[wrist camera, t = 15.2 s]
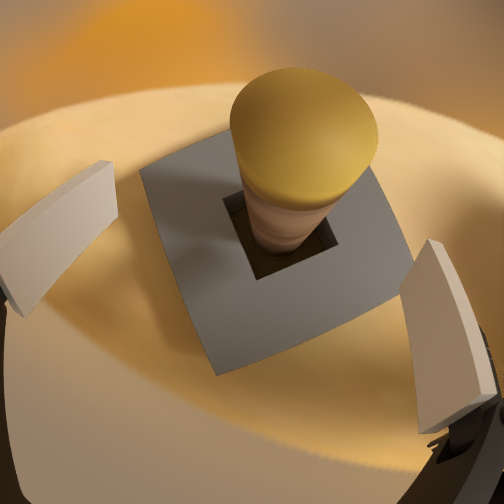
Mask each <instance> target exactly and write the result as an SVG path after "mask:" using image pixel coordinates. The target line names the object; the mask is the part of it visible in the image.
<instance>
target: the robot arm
mask: <svg viewBox="0 0 504 504" xmlns="http://www.w3.org/2000/svg"><path fill="white" fill-rule="evenodd" d="M117 217H118V208H117V199H116V190H115V180H114V167H113V162H110V161H103V160H100V161H98V162H96V163H95V164H93V165H91V166H90V167H88V168H87V169H85V170H83V171H82V172H80V173H79V174H77V175H76V176H74V177H73V178H71V179H70V180H68V181H67V182H65V183H64V184H62V185H61V186H59V187H58V188H57V189H55V190H54V191H52V192H51V193H50V194H48V195H47V196H45V197H44V198H43V199H41V200H40V201H39V202H37V203H36V204H35V205H34V206H32V207H31V208H30V209H29V210H27V211H26V212H25V213H24V214H22V215H21V216H20V217H19V218H17V219H16V220H15V221H14V222H13V223H12V224H10V225H9V226H8V227H7V228H6V229H5V230H4V231H2V232H1V233H0V504H31V503H30V502H29V501H28V500H27V499H26V498H25V497H24V496H23V494H22V492H21V489H20V486H19V482H18V478H17V474H16V470H15V466H14V462H13V458H12V452H11V448H10V442H9V435H8V428H7V421H6V411H5V400H4V376H3V362H4V361H3V360H4V359H3V358H4V337H5V325H6V315H7V309H6V306H5V305H4V303H5V301H6V300H7V299H8V301H9V303H10V305H11V306H12V308H13V309H14V311H15V312H17V313H18V314H20V315H21V316H22V317H24V318H27V317H28V315H29V314H30V313H31V311H32V310H33V309H34V307H35V306H36V305H37V303H38V302H39V301H40V300H41V299H42V297H43V296H44V295H45V294H46V293H47V291H48V290H49V289H50V288H51V287H52V285H53V284H54V283H55V282H56V281H57V280H58V278H59V277H60V276H61V275H62V274H63V273H64V272H65V271H66V269H67V268H68V267H69V266H70V265H71V264H72V263H73V262H74V261H75V260H76V258H77V257H78V256H79V255H80V254H81V253H82V252H83V251H84V250H85V249H86V248H87V247H88V246H89V245H90V244H91V243H92V242H93V241H94V240H95V239H96V238H97V237H98V236H99V235H100V234H101V233H102V232H103V231H104V230H105V229H106V228H107V227H108V226H109V225H110V224H111V223H112V222H113V221H114V220H115V219H116V218H117ZM399 292H400V297H401V301H402V306H403V310H404V315H405V320H406V325H407V331H408V336H409V342H410V349H411V355H412V362H413V370H414V378H415V387H416V398H417V411H418V432H419V434H427V433H437V432H438V431H440V430H442V429H444V428H446V427H447V426H448V427H449V433H447V434H445V435H443V436H442V437H440V438H438V439H436V440H434V441H432V442H430V443H429V444H428V445H427V447H428V448H429V447H431V446H434V445H436V444H438V443H439V444H438V446H437V447H435V448H433V449H432V451H433V454H432V455H431V457H430V459H429V460H428V462H427V463H426V465H425V466H424V468H423V469H422V471H421V472H420V474H419V475H418V476H417V478H416V479H415V481H414V482H413V483H412V485H411V486H410V488H409V489H408V490H407V491H406V493H405V494H404V495H403V496H402V498H401V499H400V500H399V501H398V503H397V504H504V471H503V469H504V398H503V399H502V397H501V393H500V388H499V383H498V379H497V375H496V371H495V367H494V364H493V360H491V358H492V357H491V353H490V350H488V348H489V347H488V343H487V340H486V337H485V334H484V333H483V331H482V329H481V328H480V326H479V325H478V323H477V321H476V318H475V315H474V313H473V310H472V307H471V305H470V302H469V300H468V297H467V295H466V293H465V290H464V288H463V286H462V283H461V281H460V279H459V277H458V275H457V272H456V270H455V268H454V266H453V264H452V262H451V260H450V258H449V256H448V254H447V252H446V250H445V248H444V246H443V244H442V243H440V242H438V241H435V240H432V239H429V238H428V239H427V240H426V242H425V244H424V246H423V248H422V249H421V251H420V253H419V255H418V256H417V258H416V260H415V262H414V263H413V265H412V267H411V268H410V270H409V272H408V273H407V275H406V276H405V278H404V280H403V281H402V283H401V284H400V286H399Z"/></svg>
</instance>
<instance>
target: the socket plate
mask: <svg viewBox="0 0 504 504" xmlns="http://www.w3.org/2000/svg"><path fill="white" fill-rule="evenodd" d="M139 171H140V174H141V178H142V181H143V185H144V188H145V191H146V195H147V198H148V201H149V205H150V208H151V211H152V214H153V217H154V220H155V223H156V226H157V229H158V232H159V235H160V238H161V241H162V244H163V247H164V250H165V253H166V256H167V258H168V261H169V264H170V267H171V269H172V272H173V275H174V277H175V280H176V283H177V285H178V288H179V290H180V293H181V296H182V298H183V301H184V303H185V306H186V308H187V310H188V313H189V315H190V318H191V320H192V323H193V325H194V327H195V330H196V332H197V334H198V337H199V339H200V341H201V343H202V346H203V348H204V350H205V352H206V355H207V357H208V359H209V361H210V363H211V366H212V368H213V370H214V372H215V374H216V376H218V375H221V374H224V373H227V372H230V371H233V370H236V369H238V368H241V367H244V366H247V365H249V364H252V363H255V362H257V361H260V360H262V359H265V358H267V357H270V356H272V355H275V354H277V353H280V352H282V351H285V350H287V349H289V348H292V347H294V346H296V345H299V344H301V343H303V342H306V341H308V340H310V339H312V338H315V337H317V336H319V335H321V334H323V333H325V332H327V331H330V330H332V329H334V328H336V327H338V326H340V325H342V324H344V323H346V322H348V321H350V320H352V319H354V318H356V317H358V316H360V315H362V314H364V313H366V312H368V311H370V310H371V309H373V308H375V307H377V306H379V305H381V304H383V303H384V302H386V301H388V300H390V299H392V298H393V297H395V296H397V295H399V294H400V292H399V286H400V284H401V283H402V281H403V280H404V278H405V276H406V275H407V273H408V272H409V270H410V268H411V267H412V265H413V263H414V260H413V258H412V255H411V253H410V250H409V248H408V245H407V243H406V240H405V238H404V236H403V233H402V231H401V229H400V226H399V224H398V222H397V220H396V217H395V215H394V213H393V211H392V209H391V207H390V205H389V203H388V200H387V198H386V196H385V194H384V192H383V190H382V188H381V186H380V184H379V183H378V181H377V179H376V177H375V175H374V173H373V171H372V169H371V167H370V166H368V167H367V168H366V170H365V171H364V172H363V173H362V174H361V176H360V177H359V178H358V179H357V180H356V181H355V183H354V184H353V185H352V186H351V187H350V189H349V190H348V191H347V192H346V193H345V194H344V196H343V197H342V198H341V199H340V200H339V201H338V202H337V204H336V205H335V206H334V207H333V208H332V209H331V211H330V212H329V213H328V214H327V215H326V216H325V217H324V219H323V220H322V221H321V222H320V223H319V224H318V225H317V227H316V231H317V233H318V235H319V237H320V239H321V242H322V244H323V246H324V249H325V251H324V252H321V253H319V254H317V255H315V256H312V257H310V258H308V259H305V260H303V261H301V262H299V263H296V264H294V265H292V266H289V267H287V268H285V269H282V270H280V271H278V272H275V273H273V274H271V275H268V276H266V277H264V278H261V279H259V280H257V279H256V277H255V274H254V272H253V269H252V267H251V265H250V262H249V260H248V258H247V255H246V253H245V250H244V248H243V246H242V243H241V241H240V239H239V236H238V234H237V231H236V229H235V227H234V224H233V222H232V219H231V217H230V215H229V213H231V212H233V211H236V210H238V209H241V208H243V207H245V206H247V205H246V200H245V196H244V191H243V186H242V181H241V177H240V172H239V167H238V162H237V158H236V153H235V148H234V144H233V139H232V134H231V129H229V130H227V131H224V132H222V133H219V134H217V135H214V136H212V137H209V138H207V139H204V140H202V141H200V142H197V143H195V144H193V145H190V146H188V147H186V148H184V149H181V150H179V151H177V152H175V153H173V154H171V155H168V156H166V157H164V158H162V159H160V160H158V161H156V162H154V163H152V164H150V165H148V166H146V167H144V168H142V169H140V170H139Z"/></svg>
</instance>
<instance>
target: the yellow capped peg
mask: <svg viewBox="0 0 504 504" xmlns="http://www.w3.org/2000/svg"><path fill="white" fill-rule="evenodd" d="M230 129H231V134H232V139H233V144H234V148H235V153H236V158H237V162H238V167H239V172H240V177H241V181H242V186H243V191H244V196H245V200H246V205H247V210H248V215H249V219H250V224H251V229H252V234H253V238H254V242H255V244H256V246H257V247H258V248H259V250H260V251H262V252H263V253H264V254H266V255H268V256H271V257H278V258H279V257H285V256H288V255H290V254H291V253H293V252H294V251H295V250H296V249H297V248H298V247H299V246H300V245H301V244H302V242H303V241H304V240H305V239H306V238H307V237H308V236H309V235H310V233H311V232H312V231H313V230H314V229H315V228H316V227H317V225H318V224H319V223H320V222H321V221H322V220H323V219H324V217H325V216H326V215H327V214H328V213H329V212H330V211H331V209H332V208H333V207H334V206H335V205H336V204H337V202H338V201H339V200H340V199H341V198H342V197H343V196H344V194H345V193H346V192H347V191H348V190H349V189H350V187H351V186H352V185H353V184H354V183H355V181H356V180H357V179H358V178H359V177H360V176H361V174H362V173H363V172H364V171H365V170H366V168H367V167H368V166H369V164H370V163H371V161H372V159H373V158H374V155H375V152H376V149H377V144H378V130H377V125H376V121H375V118H374V116H373V114H372V111H371V110H370V108H369V106H368V105H367V103H366V102H365V101H364V99H363V98H362V97H361V96H360V95H359V94H358V93H357V92H356V91H355V90H354V89H353V88H351V87H350V86H349V85H347V84H346V83H344V82H343V81H341V80H339V79H338V78H335V77H334V76H331V75H329V74H326V73H323V72H320V71H316V70H311V69H303V68H287V69H280V70H275V71H272V72H269V73H266V74H264V75H262V76H259V77H258V78H256V79H254V80H253V81H251V82H250V83H249V84H247V85H246V86H245V87H244V88H243V89H242V90H241V92H240V93H239V94H238V96H237V97H236V99H235V101H234V103H233V106H232V109H231V114H230Z"/></svg>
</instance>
